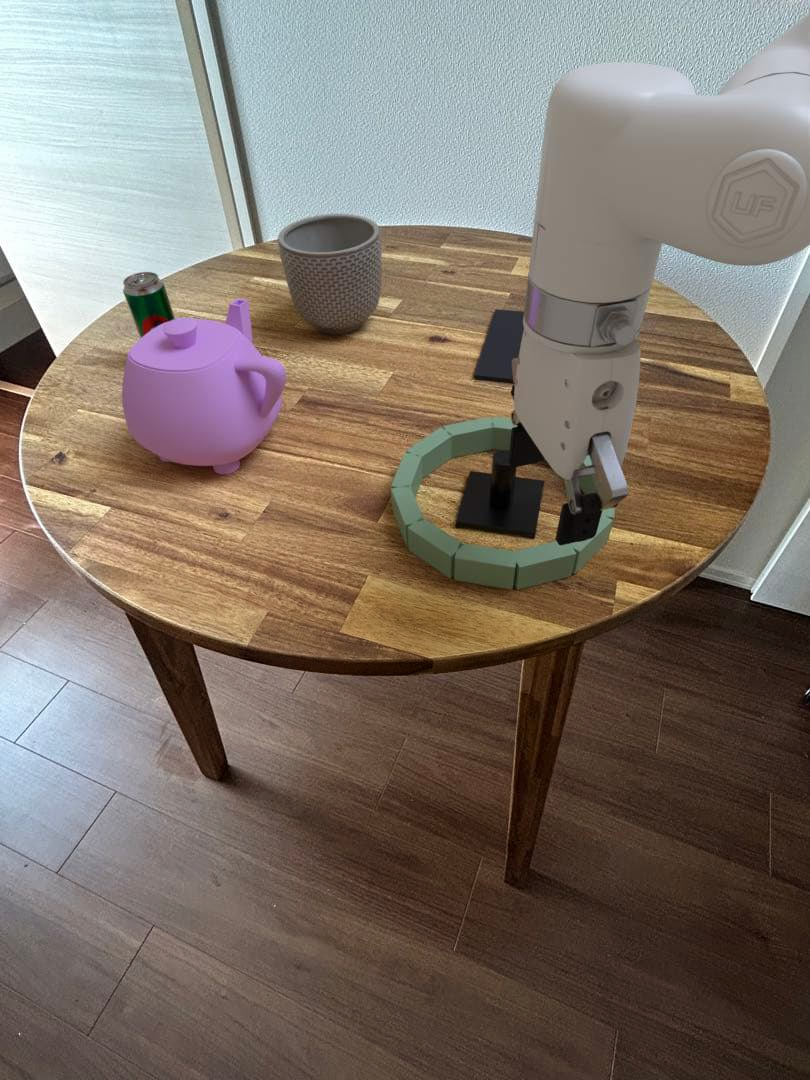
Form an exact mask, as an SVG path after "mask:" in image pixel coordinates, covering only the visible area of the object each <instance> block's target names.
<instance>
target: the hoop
mask: <svg viewBox="0 0 810 1080" xmlns="http://www.w3.org/2000/svg"><path fill="white" fill-rule="evenodd" d="M513 427H517V425H515V426H514V425H513V424H512V421H511V417H501V416H492V418H491V416H485V417H480V418H476V419H471V420H466V421H461V422H455V423H450V424H446V425H443V426H442V427H438V428H437V429H436V430H434V431H433V432H431V433H430V434H428V435H427V436H426V437H424V438H423V439H421V440H419V441H418V442H417V443H415V444H413V445H412V446H410V447H409V448H408V449H406V451H405V452H404V453H403V455H402V457H401V460H400V463H399V465H398V467H397V469H396V472H395V475H394V477H393V480H392V483H391V485H390V497H391V508H392V510H391V511H392V513H393V516H394V519H395V522H396V524H397V527H398V529H399V531H400V534H401V537H402V539H403V541H404V544H405V547H406V548H408V551H409V552H411V553H412V554H414V555H415V556H416V557H418V558H419V559H421V560H422V561H423V562H425V563H426V564H428V565H429V566H431V567H432V568H434V569H435V570H437V571H438V572H440V573H441V574H443V575H444V576H445V577H447V578H448V579H452V578H453V580H454V581H456V582H463V583H468V584H475V585H480V586H486V587H493V588H499V589H504V590H511V591H512V590H513V589H514V588H515V589H516V590H517V591H518V590H522V589H526V588H530V587H534V586H538V585H542V584H546V583H549V582H555V581H558V580H562V579H565V578H566V579H567V578H570V577H572V574H573V575H576V573H578V572H579V571H580V570H581V569H582V568H583V567H584V566H585V565H586V564H587V563H588V562H589V561H590V560H591V559H592V558H593V557H594V556H595V555H596V554H597V553H598V552H599V551H600V550H601V549H602V548H603V547H604V546H605V545H606V544H608V541H609V538H610V535H611V531H612V528H613V523H614V520H615V513H616V512H615V511H616V507H614V508H609V509H605V510H602V514H601V518H600V522H599V525H598V529H597V533H596V535H595V536H594V537H593V538H591V539H588V540H585V541H581V542H574V543H570V544H566V545H559V544H558V543H557V541H556V540H555V541H550V542H546V543H542V544H538V545H534V546H529V547H526V548H522V549H517V550H510V549H502V548H498V547H497V548H496V547H490V546H485V545H477V544H471V543H465V542H462V541H460V540H459V539H457V538H455V537H454V536H453V535H451V534H449V533H447V532H446V531H444V529H442V528H440V527H438V526H437V525H435V524H434V523H432V522H431V521H429V520H428V519H426V518H425V516H424V515H423V512H422V510H421V508H420V505H419V503H418V501H417V499H416V498H417V494H418V492H419V489H420V487H421V483H422V481H423V479H424V478H426V477H427V476H429V475H430V474H431V473H433V472H434V471H436V470H437V469H438V468H440V467H442V466H443V465H444V464H445V463H447V462H448V461H449V460H451V459H454V458H459V457H463V456H468V455H472V454H477V453H482V452H486V451H491V450H493V451H500V450H510V441H511V432H512V428H513ZM543 461H545V462H547V460H546V459H545V458H544V460H543ZM589 465H592V461H591V458H590V456H589V455H588V456H586V459H585V460H584V462H583V463H582V465H581V466H580V467H584V466H589ZM578 482H579V488H580V491H582V493H583V495H586V494H590V493H595V490H594V484H593V478H592V475H587V476H583V477H578Z"/></svg>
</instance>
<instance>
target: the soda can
mask: <svg viewBox="0 0 810 1080" xmlns="http://www.w3.org/2000/svg"><path fill="white" fill-rule="evenodd" d="M122 283H123V289H122V293H123V295H124V298H125V301H126V303H127V306H128V309H129V311H130V314H131V317H132V319H133V322H134V325H135V328H136V331H137V334H138V336H139V340H140V339H141V338H142V337H143V336H144V335H146V334H147V333H148V332H149V331H151V330H152V329H154V328H155V327H157V326H159V325H161V324H163V323H166V322H169V321H171V320H174V319H176V317H175V315H174V312H173V307H172V305H171V302H170V299H169V296H168V292H167V290H166V287H165V283H164V281H162V280H161V278H159V274H157V273H156V272H152V271H140V272H136V273H133V274H130V275H128V276H127V277H125V278H124V279H123V282H122Z"/></svg>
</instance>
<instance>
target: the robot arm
mask: <svg viewBox="0 0 810 1080" xmlns="http://www.w3.org/2000/svg"><path fill="white" fill-rule="evenodd" d="M543 129H544V130H543V137H542V145H541V146H542V147H541V155H540V156H541V157H540V164H539V174H538V184H537V191H536V192H537V193H536V201H535V210H534V218H533V228H532V238H531V247H530V257H529V266H528V272H527V279H526V280H527V282H526V291H525V292H526V293H525V300H524V309H523V311H524V317H523V326H524V331H523V336H522V341H521V347H520V352H519V358H515V359H512V373H513V382H515V383H514V384H513V385H512V387H511V389H510V390H511V391H510V395H511V397H512V399H513V406H514V407H513V408H514V409H513V410H512V411H511V412H510V418H511V421H512V424H513V425H514V426H515V425H517V427H513V428H512V432H511V441H510V450H509V459H508V462H509V464H510V466H511V467H517V468H520V467H523V466H529V465H533V464H539V463H542V462H543V461H545V460H544V458H545V459H546V460H547V461H546V462H547V463H548V465H549V466H550V468H551V469H552V470H553V471H554V473H555V474H556V475H558V476H559V477H561V478H562V479H563V481H564V488H565V494H566V499H567V502H566V503H564V504H562V505H561V510H560V513H559V514H560V515H559V519H558V524H557V528H556V533H555V541H557V543H558V544H559V545H566V544H570V543H574V542H581V541H585V540H588V539H591V538H593V537H594V536H595V535H596V533H597V529H598V525H599V522H600V518H601V514H602V510H605V509H609V508H614V507H615V508H617V507H618V505H619V504H620V503H621V502H622V501H623V500H624V499H626V498H627V497H628V496H629V494H630V488H629V485H628V483H627V480H626V477H625V475H624V472H623V470H622V465H623V463H624V460H625V456H626V453H627V450H628V445H629V441H630V437H631V436H630V435H631V432H632V427H633V423H634V418H635V412H636V406H637V400H638V393H639V384H640V376H641V375H640V374H641V359H642V358H641V355H642V354H641V353H642V352H641V350H642V349H641V348H642V347H641V344H640V342H639V341H638V340H637V339H638V337H639V335H640V333H641V328H642V324H643V320H644V317H645V311H646V308H647V304H648V302H649V301H648V300H649V297H650V293H651V289H652V285H653V283H654V278H655V274H656V271H657V265H658V262H659V259H660V255H661V250H662V247H663V245H666V246H669V247H671V248H674V249H677V250H681V251H683V252H686V253H689V254H690V255H691V254H692V255H694V256H697V257H700V258H703V259H705V260H708V261H714V262H717V263H721V264H725V265H731V266H741V267H742V266H744V267H745V266H746V267H747V266H749V267H750V266H753V267H754V266H755V267H756V266H764V265H768V264H772V263H773V264H774V263H777V262H780V261H782V260H786V259H788V258H790V257H793V256H794V255H796V254H798V253H800V252H802V251H804V249H807V248H808V247H809V246H810V12H808V13H807V14H806V15H805V16H803V17H802V18H801V19H799V20H797V22H795V23H794V24H793V25H791V26H790V27H789V28H788V29H786V30H785V31H784V32H783V33H781V34H780V35H779V36H777V38H775V39H774V40H772V41H771V42H770V43H769V44H768V45H766V46H765V47H764V48H763V49H761V50H760V51H759V52H757V54H755V55H754V56H753V57H752V58H750V59H749V60H748V61H747V62H746V63H744V64H743V65H742V66H741V67H740V68H739V69H738V70H736V72H735V73H734V74H733V75H732V76H731V77H730V78H729V79H728V80H727V81H726V82H725V84H723V86H722V87H721V88H720V89H719V90H718V92H717V94H709V95H708V94H705V95H704V94H696V90H695V87H694V85H693V82H692V81H691V80H690V79H689V77H687V76H686V75H685V74H684V73H682V72H680V71H678V70H676V69H674V68H672V67H668V66H665V65H660V64H654V63H649V62H647V63H646V62H633V61H617V62H616V61H612V62H601V63H593V64H592V63H591V64H588V65H584V66H581V67H578V68H576V69H572V70H571V71H569V72H568V73H566V74H565V75H564V76H562V78H560V79H559V80H558V82H557V83H556V84H555V86H554V87H553V89H552V92H551V94H550V97H549V100H548V102H547V108H546V113H545V120H544V128H543ZM588 455H589V456H590V458H591V461H592V465H589V466H584V467H580V466H581V465H582V463H583V462H584V460H585V459H586V456H588ZM587 475H592V478H593V484H594V490H595V493H590V494H586V495H585V494H581V488H580V487H579V482H578V477H583V476H587Z"/></svg>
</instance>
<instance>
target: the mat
mask: <svg viewBox="0 0 810 1080" xmlns="http://www.w3.org/2000/svg"><path fill="white" fill-rule="evenodd" d="M523 317H524V310H511V309H497V308H495V310H494V313H493V315H492V319H491V322H490V325H489V327H488V331H487V334H486V337H485V340H484V343H483V346H482V348H481V352H480V355H479V358H478V361H477V364H476V367H475V371H474V374H473V379H474V380H482V381H492V382H500V383H501V382H502V383H509V384H511V383H512V384H515V382H513V373H512V359H515V358H519V352H520V347H521V341H522V336H523V331H524V326H523Z"/></svg>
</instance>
